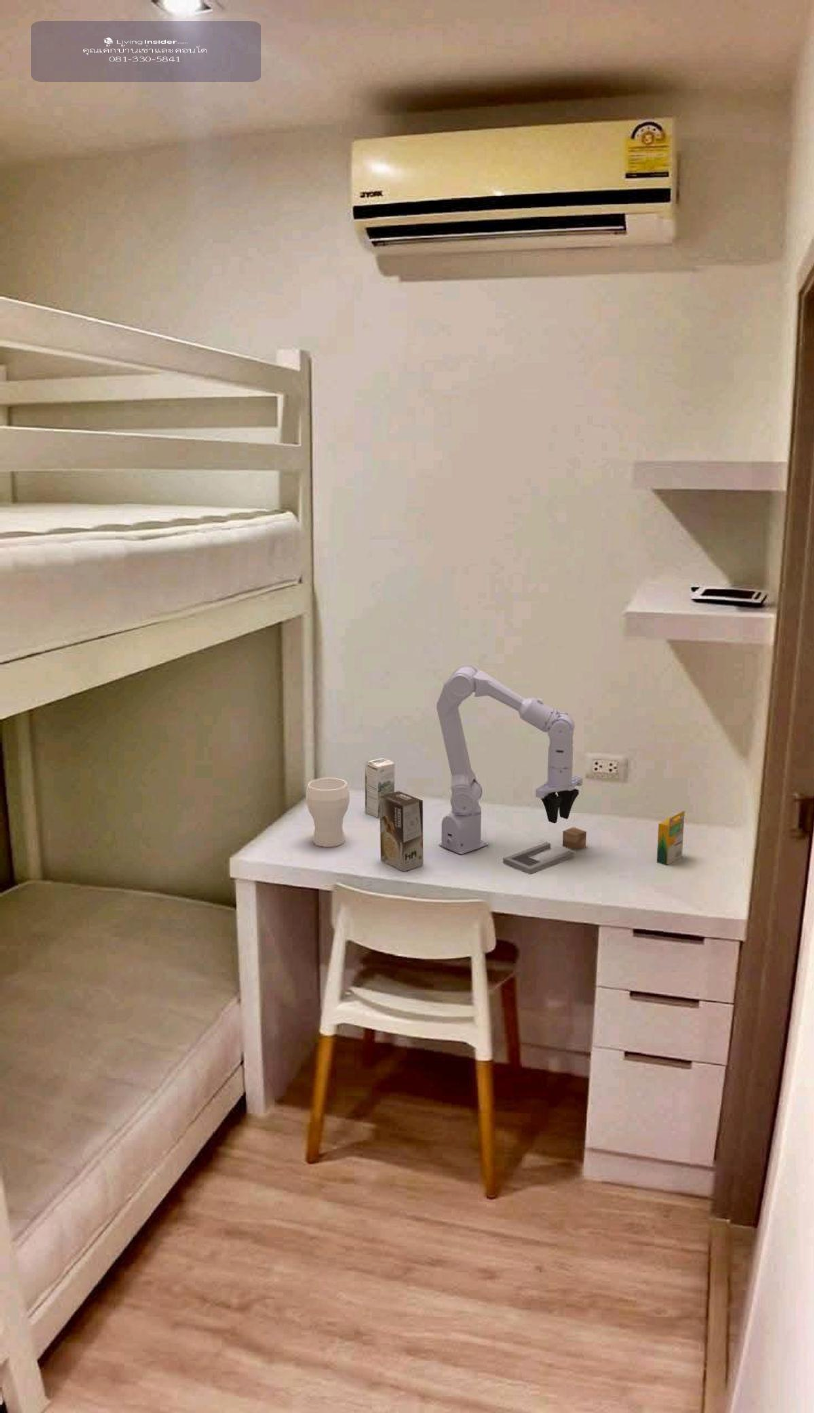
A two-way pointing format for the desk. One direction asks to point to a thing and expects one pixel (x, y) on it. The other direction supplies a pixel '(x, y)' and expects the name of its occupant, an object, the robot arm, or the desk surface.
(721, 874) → the desk surface
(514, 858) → the guide channel
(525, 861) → the pad
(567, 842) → the walnut block
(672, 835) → the crayon box
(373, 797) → the syrup box
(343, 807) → the cup
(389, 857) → the coffee box
